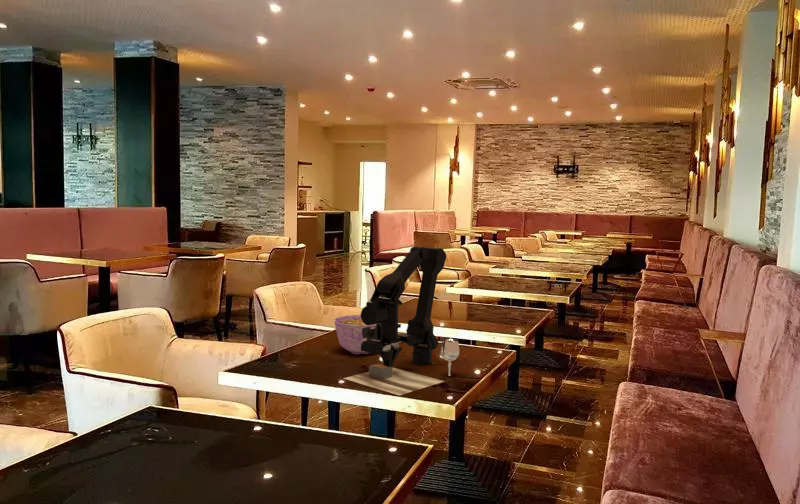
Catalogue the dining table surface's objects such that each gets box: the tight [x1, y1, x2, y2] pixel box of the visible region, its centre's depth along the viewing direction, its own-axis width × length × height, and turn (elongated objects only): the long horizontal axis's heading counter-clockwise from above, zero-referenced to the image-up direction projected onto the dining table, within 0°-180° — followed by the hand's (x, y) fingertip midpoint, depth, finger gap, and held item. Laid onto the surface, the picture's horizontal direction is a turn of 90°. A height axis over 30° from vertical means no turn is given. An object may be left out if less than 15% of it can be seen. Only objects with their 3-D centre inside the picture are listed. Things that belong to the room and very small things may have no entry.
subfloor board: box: [343, 366, 445, 396], centre depth 196 cm, size 20×23×1 cm
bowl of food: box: [333, 314, 379, 355], centre depth 234 cm, size 20×20×12 cm
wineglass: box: [440, 338, 460, 377], centre depth 202 cm, size 6×6×12 cm
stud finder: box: [368, 363, 393, 379], centre depth 200 cm, size 4×6×3 cm, turn 48°
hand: (387, 370), depth 202 cm, fingers closed
